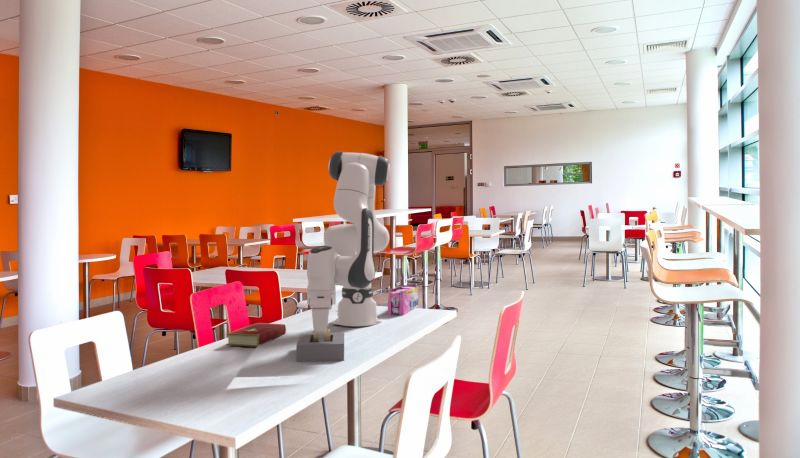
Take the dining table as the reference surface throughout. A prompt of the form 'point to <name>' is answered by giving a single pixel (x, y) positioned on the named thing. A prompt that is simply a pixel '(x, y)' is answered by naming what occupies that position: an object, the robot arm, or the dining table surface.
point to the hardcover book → (256, 334)
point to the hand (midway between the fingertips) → (321, 342)
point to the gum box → (403, 299)
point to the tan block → (326, 338)
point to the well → (320, 348)
